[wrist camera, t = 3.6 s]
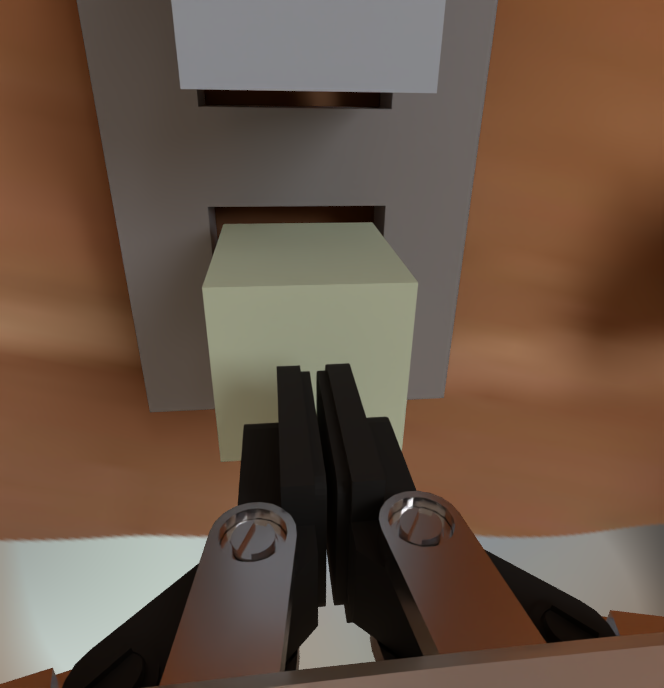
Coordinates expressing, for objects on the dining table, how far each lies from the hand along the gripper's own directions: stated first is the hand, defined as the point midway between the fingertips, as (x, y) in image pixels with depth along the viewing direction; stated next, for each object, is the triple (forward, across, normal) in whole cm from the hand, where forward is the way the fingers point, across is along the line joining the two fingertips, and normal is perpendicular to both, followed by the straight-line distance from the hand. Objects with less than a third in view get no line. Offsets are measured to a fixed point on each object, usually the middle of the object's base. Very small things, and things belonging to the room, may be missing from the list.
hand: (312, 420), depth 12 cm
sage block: (+7, 0, 0) cm, 7 cm away
